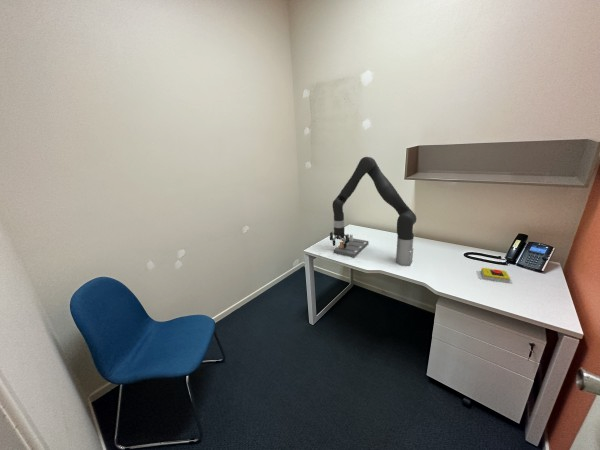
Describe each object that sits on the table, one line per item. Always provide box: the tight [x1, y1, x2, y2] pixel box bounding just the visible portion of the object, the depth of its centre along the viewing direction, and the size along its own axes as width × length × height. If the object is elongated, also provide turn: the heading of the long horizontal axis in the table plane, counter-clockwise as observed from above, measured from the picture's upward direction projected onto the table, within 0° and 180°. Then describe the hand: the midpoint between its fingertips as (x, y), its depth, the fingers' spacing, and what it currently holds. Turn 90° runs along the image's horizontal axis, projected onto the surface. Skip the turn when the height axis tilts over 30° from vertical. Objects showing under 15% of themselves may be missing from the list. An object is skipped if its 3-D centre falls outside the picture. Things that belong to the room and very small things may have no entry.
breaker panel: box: [333, 234, 370, 259], centre depth 184 cm, size 16×26×7 cm, turn 144°
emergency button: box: [476, 267, 513, 285], centre depth 138 cm, size 9×4×15 cm
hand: (339, 246), depth 182 cm, fingers open, 8 cm apart
